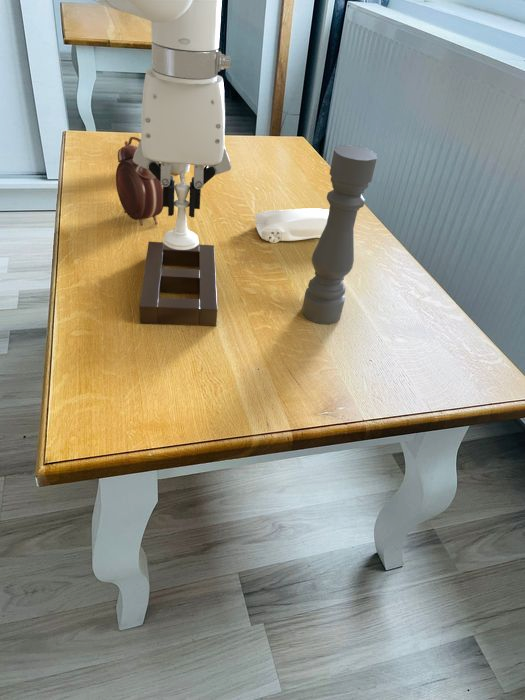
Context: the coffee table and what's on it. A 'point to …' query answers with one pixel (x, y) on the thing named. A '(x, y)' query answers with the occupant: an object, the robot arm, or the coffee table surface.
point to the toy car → (291, 224)
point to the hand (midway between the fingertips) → (181, 211)
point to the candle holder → (338, 233)
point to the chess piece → (181, 221)
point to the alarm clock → (137, 186)
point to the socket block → (179, 286)
